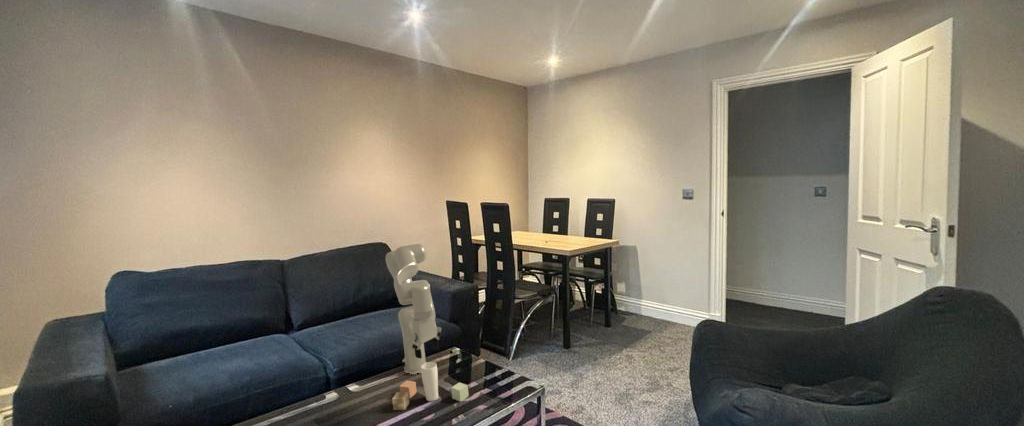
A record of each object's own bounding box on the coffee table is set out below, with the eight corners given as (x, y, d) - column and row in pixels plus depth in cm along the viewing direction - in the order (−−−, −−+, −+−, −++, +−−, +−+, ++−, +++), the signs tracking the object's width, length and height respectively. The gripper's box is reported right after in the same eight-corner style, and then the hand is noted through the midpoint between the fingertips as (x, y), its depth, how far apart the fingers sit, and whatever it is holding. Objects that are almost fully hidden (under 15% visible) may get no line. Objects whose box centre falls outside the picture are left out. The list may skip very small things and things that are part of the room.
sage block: (452, 398, 193) (451, 387, 192) (460, 393, 197) (459, 382, 196) (460, 401, 190) (459, 390, 189) (468, 396, 194) (467, 385, 193)
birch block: (393, 410, 188) (392, 398, 187) (398, 403, 193) (396, 392, 192) (405, 410, 187) (403, 398, 187) (409, 403, 192) (408, 392, 191)
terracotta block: (400, 396, 198) (399, 386, 197) (407, 390, 203) (406, 380, 202) (410, 398, 196) (408, 387, 195) (416, 392, 201) (415, 381, 200)
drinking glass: (425, 395, 197) (421, 362, 195) (440, 393, 198) (437, 361, 196) (423, 403, 191) (419, 370, 189) (439, 401, 191) (436, 368, 189)
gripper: (432, 306, 198) (436, 344, 200) (400, 319, 185) (405, 359, 186) (444, 308, 193) (448, 347, 195) (412, 322, 180) (417, 363, 182)
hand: (427, 353), depth 191 cm, fingers open, 9 cm apart
